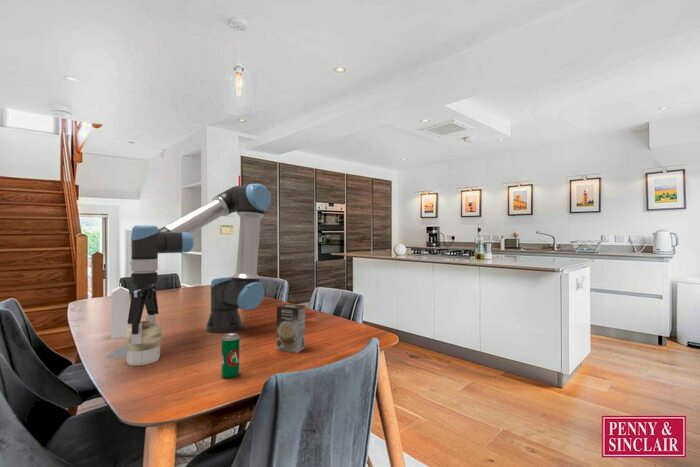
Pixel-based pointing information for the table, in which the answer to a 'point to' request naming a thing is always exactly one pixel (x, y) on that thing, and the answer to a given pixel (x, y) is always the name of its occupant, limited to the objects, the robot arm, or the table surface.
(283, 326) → the coffee box
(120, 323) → the milk
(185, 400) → the table surface
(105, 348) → the table surface
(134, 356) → the bowl
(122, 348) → the mat
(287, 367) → the table surface
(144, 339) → the beige round piece
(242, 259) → the robot arm
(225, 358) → the soda can
